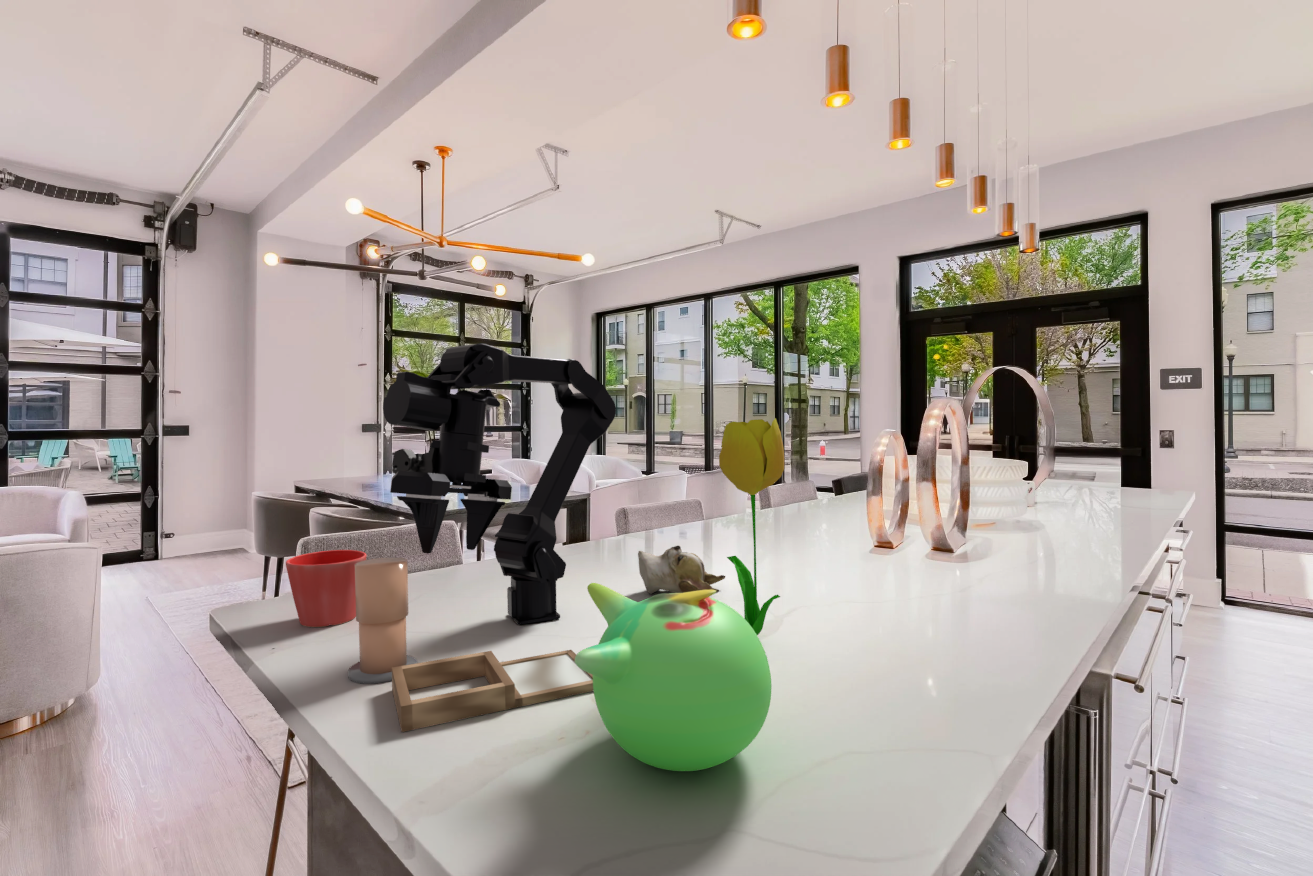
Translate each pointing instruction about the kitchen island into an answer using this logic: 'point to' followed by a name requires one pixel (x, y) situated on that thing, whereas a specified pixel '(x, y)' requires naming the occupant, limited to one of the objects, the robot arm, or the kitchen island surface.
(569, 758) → the kitchen island surface
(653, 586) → the ceramic sculpture
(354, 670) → the slate saucer
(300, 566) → the flower pot
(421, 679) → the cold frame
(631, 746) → the green round bird toy
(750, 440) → the flower
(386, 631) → the tan stacked cylinder
